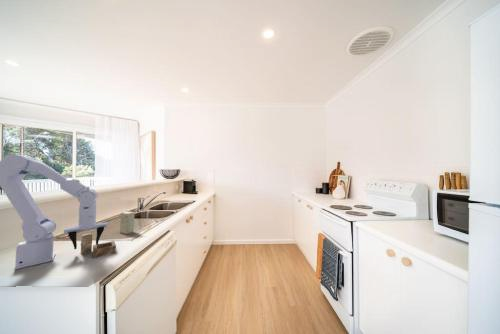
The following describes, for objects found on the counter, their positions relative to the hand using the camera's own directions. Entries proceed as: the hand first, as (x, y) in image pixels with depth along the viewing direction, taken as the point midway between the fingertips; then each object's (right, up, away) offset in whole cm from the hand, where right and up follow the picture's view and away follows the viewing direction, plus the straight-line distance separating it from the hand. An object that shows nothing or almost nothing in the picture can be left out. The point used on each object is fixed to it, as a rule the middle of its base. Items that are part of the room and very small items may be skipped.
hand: (86, 246), depth 78 cm
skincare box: (0, -4, +26) cm, 26 cm away
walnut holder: (+8, -3, 0) cm, 8 cm away
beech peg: (0, -3, 0) cm, 3 cm away
